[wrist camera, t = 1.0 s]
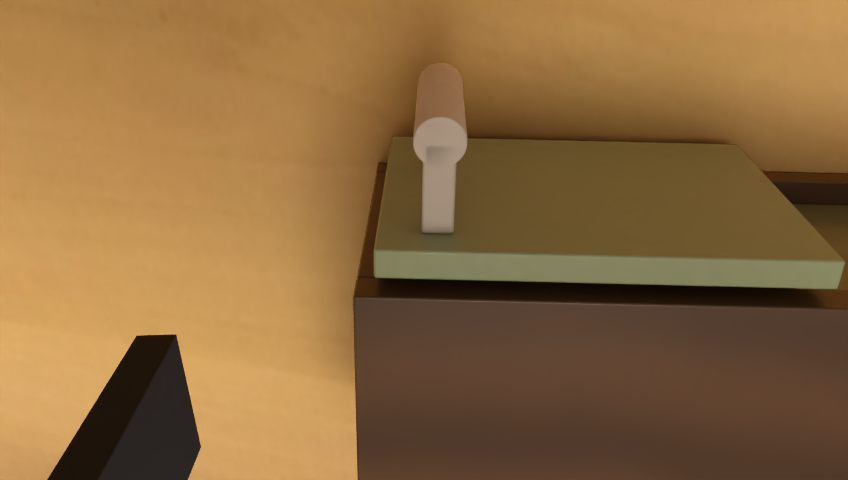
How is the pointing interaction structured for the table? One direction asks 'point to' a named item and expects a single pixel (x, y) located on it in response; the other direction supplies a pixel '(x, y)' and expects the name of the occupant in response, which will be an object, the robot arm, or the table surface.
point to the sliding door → (584, 210)
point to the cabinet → (605, 372)
